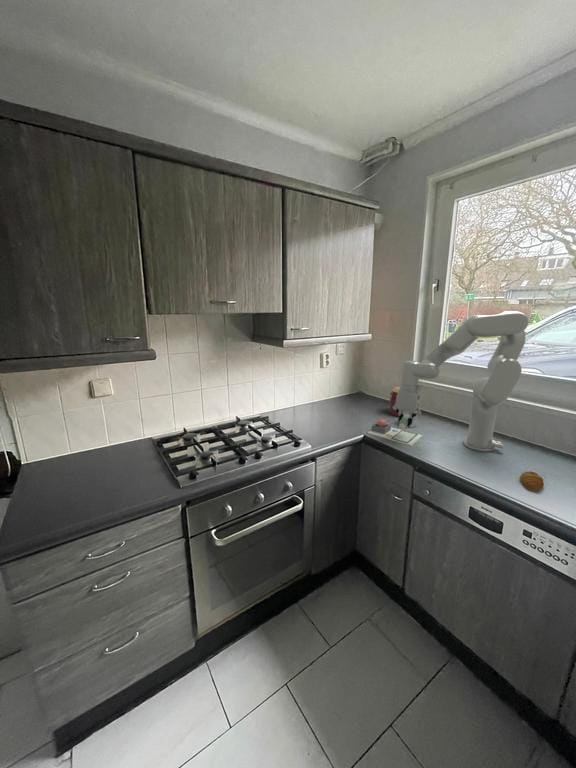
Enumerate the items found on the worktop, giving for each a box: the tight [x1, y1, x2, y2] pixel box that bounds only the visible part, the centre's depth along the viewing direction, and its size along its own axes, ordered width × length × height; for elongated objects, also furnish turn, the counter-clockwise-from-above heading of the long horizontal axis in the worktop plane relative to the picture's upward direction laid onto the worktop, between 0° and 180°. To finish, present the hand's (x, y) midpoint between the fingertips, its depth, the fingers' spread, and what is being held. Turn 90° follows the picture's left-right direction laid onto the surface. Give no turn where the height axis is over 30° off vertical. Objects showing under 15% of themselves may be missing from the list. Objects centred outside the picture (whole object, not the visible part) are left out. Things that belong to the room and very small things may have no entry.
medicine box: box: [403, 411, 419, 428], centre depth 168 cm, size 8×4×9 cm, turn 22°
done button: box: [376, 418, 387, 428], centre depth 160 cm, size 4×4×3 cm
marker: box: [398, 414, 409, 431], centre depth 151 cm, size 3×10×3 cm, turn 139°
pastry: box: [519, 470, 545, 492], centre depth 113 cm, size 9×7×4 cm
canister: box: [388, 384, 401, 418], centre depth 184 cm, size 13×13×18 cm
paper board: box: [367, 422, 423, 447], centre depth 156 cm, size 22×14×3 cm, turn 49°
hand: (404, 423), depth 151 cm, fingers closed on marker, 3 cm apart
